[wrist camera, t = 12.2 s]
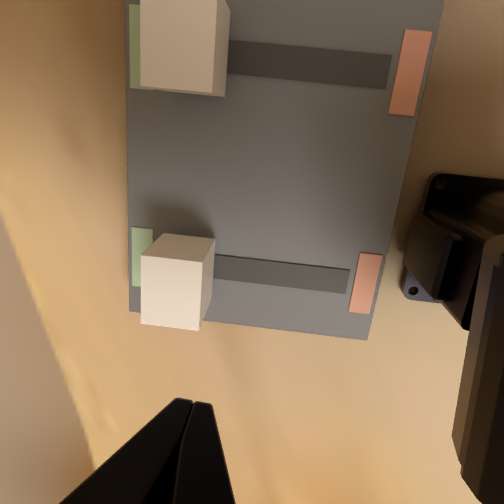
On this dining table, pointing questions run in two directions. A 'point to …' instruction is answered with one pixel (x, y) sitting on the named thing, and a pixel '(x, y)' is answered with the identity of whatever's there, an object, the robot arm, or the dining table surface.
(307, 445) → the dining table surface
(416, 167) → the dining table surface
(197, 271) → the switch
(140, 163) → the breaker panel
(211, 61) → the middle switch
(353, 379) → the dining table surface
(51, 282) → the dining table surface
